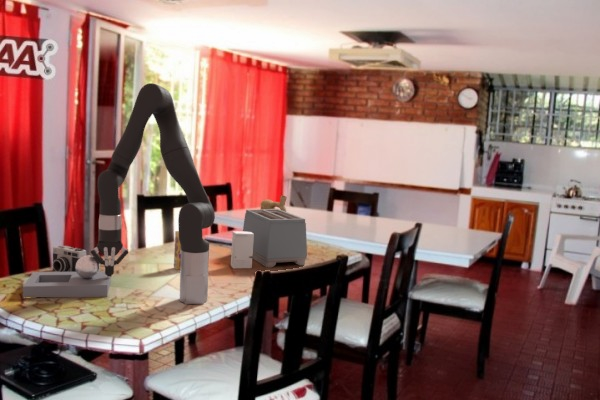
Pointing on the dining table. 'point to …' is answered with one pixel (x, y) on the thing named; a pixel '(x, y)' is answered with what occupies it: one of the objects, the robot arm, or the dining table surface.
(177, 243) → the candy box
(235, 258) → the skincare box
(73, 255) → the camera
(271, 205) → the tan irregular piece
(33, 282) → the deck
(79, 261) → the ball
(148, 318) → the dining table surface
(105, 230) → the robot arm
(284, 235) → the toaster
